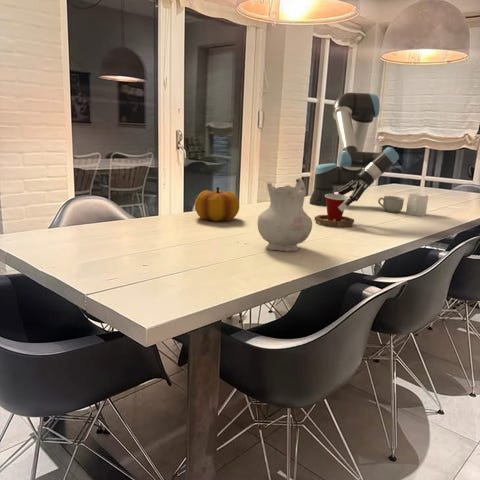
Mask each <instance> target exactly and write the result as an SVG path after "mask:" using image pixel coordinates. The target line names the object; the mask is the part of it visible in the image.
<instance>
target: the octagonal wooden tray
mask: <svg viewBox="0 0 480 480" xmlns="http://www.w3.org/2000/svg"><path fill="white" fill-rule="evenodd" d="M314 221H315V224H317V225H318V226H322V227H327V228H336V229H339V228H341V229H343V228H348V229H349V228H353V225H354V223H355V219H354V218H351V217H348V216H344V215H342V218H341V221H338V222H337V221H336V219H334V220H333V221H329V220H328V216H327V214H318V215H315V216H314Z"/></svg>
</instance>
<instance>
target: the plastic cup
mask: <svg viewBox="0 0 480 480" xmlns="http://www.w3.org/2000/svg"><path fill="white" fill-rule="evenodd" d="M325 197H326V204H327V206H326V215H327V216H328V220H329V221H333V220H334V219H336V221H337V222H338V221H341V218H342V216H344V210H343V211H342V212H341V210H340V209H339V208H338V207H339V206H340V205H341V204H342V203H343V202H344V201H345V200H346V199H347V198H348V197H349V196H347V195H339V194H337V193H334V194H326V195H325Z"/></svg>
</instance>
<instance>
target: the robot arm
mask: <svg viewBox="0 0 480 480" xmlns="http://www.w3.org/2000/svg"><path fill="white" fill-rule="evenodd" d="M380 104H381V103H380V98H379V96H378V95H377V94H376V93H369V92H368V93H364V92H363V93H361V92H346V93H343V94H341V95H340V96H339V97H337V99H336V100H335V102H334V104H333V106H332V117H333V119H334V120H335V123H336V129H337V133H338V138H339V142H340V144H339V145H340V149H341V150H340V151H339V153H338V156H337V162H338V165H337V164H336V163H333V162H332V163H321V164H320V163H319V164H317V165H316V166H315V169H314V180H313V181H314V182H313V191H312V193H311V195H310V198H309V204H310V205H313V206H320V207H327V204H326V197H325V195H326V194H335V188H337V187H338V188H339V189H337V193H336V194H339V195H344V196H346V194H348V193H351V194H350V195H349V196H347V197H348V198H347V199H346V200H345V201H344V202H343V203H342V204H341V205H340V206H339V207H338V208H339V209H340V210H341V212H342V211H343V210H346V209H347V208H348V207H349V206H350V205H351V204H352V203H353V202H358V201H359V199H360V198H361V197H362V196H363V194H364V192H365V191H366V190H367V189H368V188H369V187H370V186H372V184H373V183H374V182H375V181H376V180H378V179H380V178H381V176H382V175H383V174H384V173H385V172H386V171H388V170H389V169H390V167H392V166H393V165H395V163H396V162H397V161H398V160H399V159H400V157H399V154H398V152H397V151H396V150H395V149H394V148H393V147H390V146H387V147H386V148H385V149H383V150H382V151H381V152H372V151H364V146H365V144H366V143H365V141H366V138H367V135H368V129H369V126H370V124H371V123H373V121H374V118H378V116H379V115H380V109H381V105H380Z"/></svg>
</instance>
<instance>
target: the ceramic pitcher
mask: <svg viewBox="0 0 480 480" xmlns="http://www.w3.org/2000/svg"><path fill="white" fill-rule="evenodd" d="M295 181H296V183H295V185H294V186H291V185H289V184H288V185H284V186H282V187H281V186H279V187H276V186H274V185H273V184H272V183H273V181H269V182H267V183H266V187H267V192H268V194H269V198H270V199H269V201H270V204H269V206H268V208H266V209H265V210H264V211H262V212H261V213H260V214H259V215H258V216H257V217H258V218H257V223H256V224H257V230H258V233H259V234H260V236H261V238H262V239H263V240H264V241H266V242H268V244H267V245H266V246H265V250H269V251H282V252H290V253H291V252H297V251H300V250H299V247H298V245H299V244H301V243H304V242H305V241H306V240H307V239H308V238H309V236H310V234H311V233H312V232H311V231H312V228H313V219H311V217H310V216H309V215H308V214H307V213H306V212H305V210H304V208H303V207H304V203H305V197H306V196H307V194H306V185H305V183H304V181H303V179H302V178H300V177H299V178H296V179H295Z"/></svg>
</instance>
